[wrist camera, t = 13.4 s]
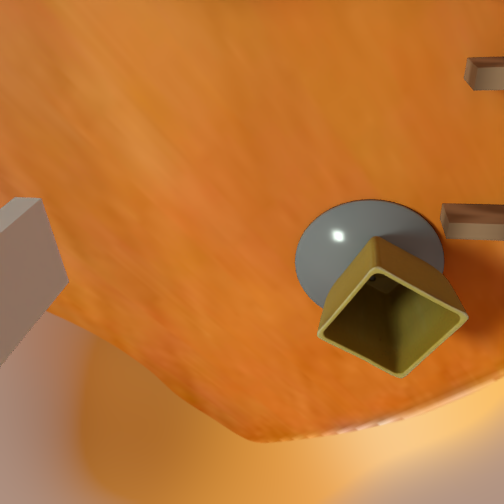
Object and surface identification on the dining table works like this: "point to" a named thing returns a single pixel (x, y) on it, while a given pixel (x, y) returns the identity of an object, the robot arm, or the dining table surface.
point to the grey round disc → (359, 241)
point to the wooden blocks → (477, 215)
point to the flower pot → (390, 309)
